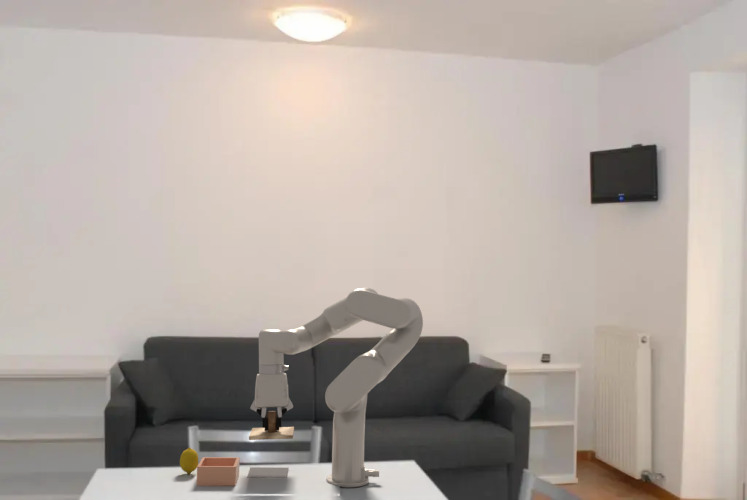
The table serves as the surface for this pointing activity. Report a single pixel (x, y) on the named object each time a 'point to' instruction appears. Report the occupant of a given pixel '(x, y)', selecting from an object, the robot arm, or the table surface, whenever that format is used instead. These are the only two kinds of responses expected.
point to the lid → (271, 430)
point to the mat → (267, 472)
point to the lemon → (189, 460)
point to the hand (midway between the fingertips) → (272, 429)
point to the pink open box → (218, 471)
